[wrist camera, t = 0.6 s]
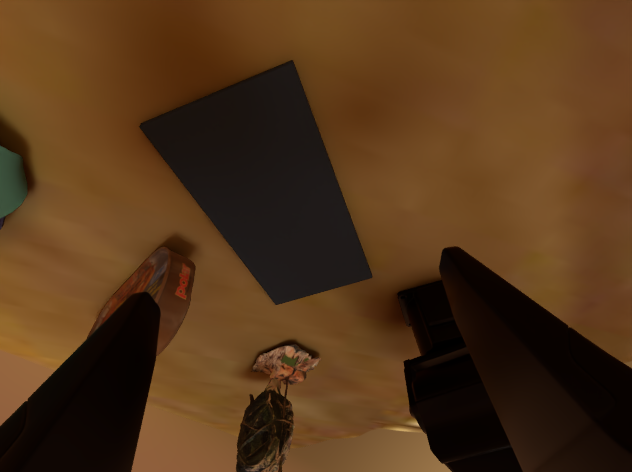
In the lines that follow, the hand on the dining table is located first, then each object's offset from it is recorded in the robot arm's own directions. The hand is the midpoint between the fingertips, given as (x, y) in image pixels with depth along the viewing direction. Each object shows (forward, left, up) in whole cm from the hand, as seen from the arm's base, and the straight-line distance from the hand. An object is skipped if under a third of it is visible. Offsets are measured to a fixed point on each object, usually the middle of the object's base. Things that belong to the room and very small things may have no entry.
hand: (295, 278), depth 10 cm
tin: (-10, +18, -14) cm, 25 cm away
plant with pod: (-30, +14, -14) cm, 36 cm away
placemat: (-8, +4, -14) cm, 16 cm away
